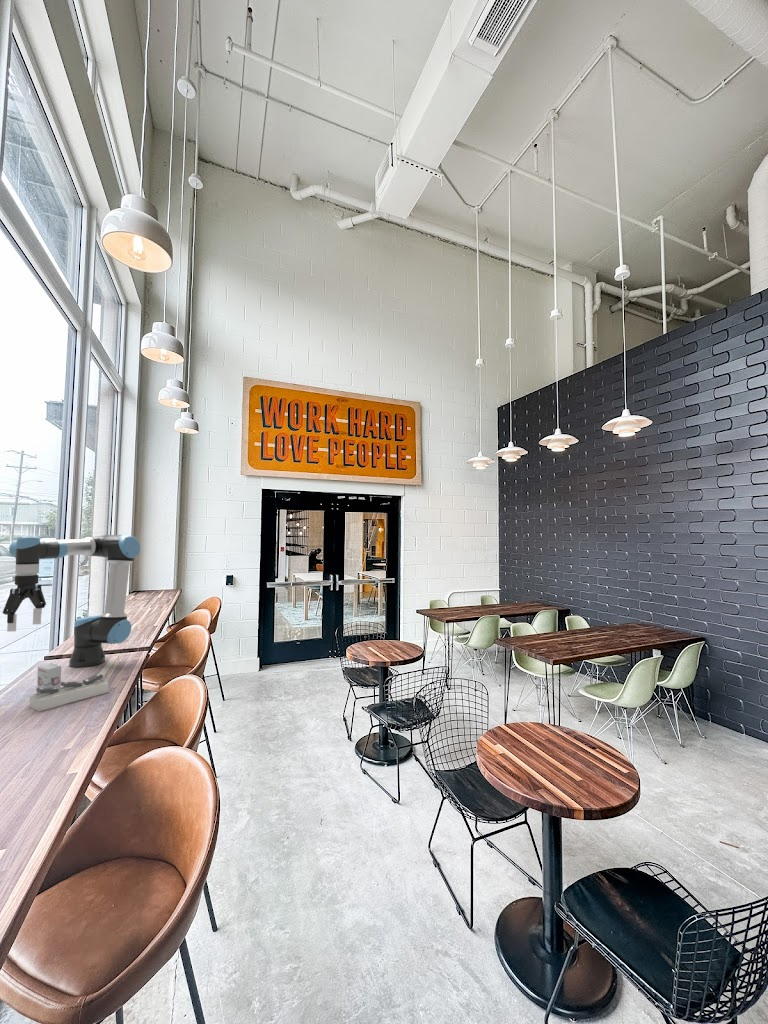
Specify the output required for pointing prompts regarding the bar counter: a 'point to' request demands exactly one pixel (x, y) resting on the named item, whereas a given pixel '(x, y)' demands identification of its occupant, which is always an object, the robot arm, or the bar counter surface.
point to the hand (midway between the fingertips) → (24, 627)
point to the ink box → (49, 676)
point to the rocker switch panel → (67, 695)
